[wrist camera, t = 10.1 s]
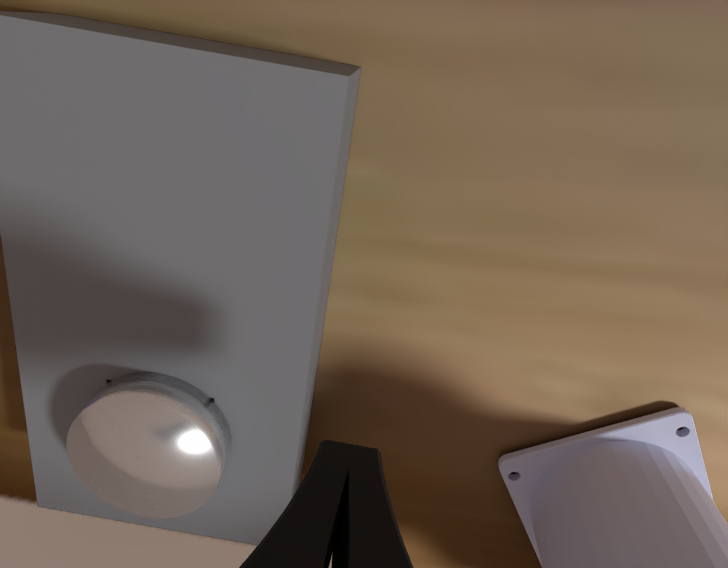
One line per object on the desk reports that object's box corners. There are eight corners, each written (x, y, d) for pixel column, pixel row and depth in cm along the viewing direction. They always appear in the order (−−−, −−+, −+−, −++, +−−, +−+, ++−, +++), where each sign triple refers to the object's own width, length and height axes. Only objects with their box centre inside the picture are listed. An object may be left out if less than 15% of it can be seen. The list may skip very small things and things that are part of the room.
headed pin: (277, 406, 23) (246, 497, 19) (176, 439, 24) (123, 532, 20) (217, 305, 21) (165, 378, 17) (109, 345, 23) (35, 425, 18)
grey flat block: (301, 475, 26) (284, 549, 22) (90, 438, 26) (37, 506, 22) (361, 66, 18) (348, 76, 14) (58, 13, 18) (-31, 9, 14)
